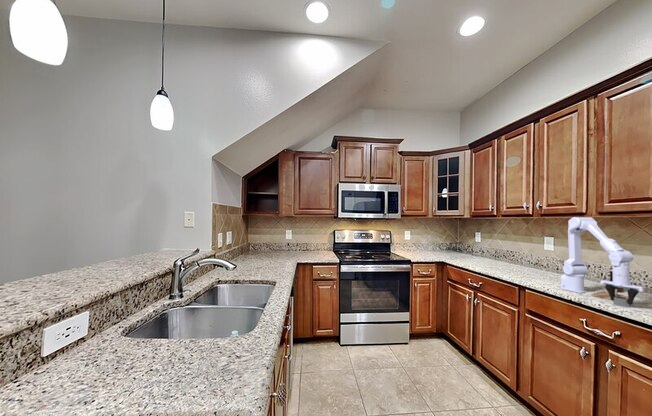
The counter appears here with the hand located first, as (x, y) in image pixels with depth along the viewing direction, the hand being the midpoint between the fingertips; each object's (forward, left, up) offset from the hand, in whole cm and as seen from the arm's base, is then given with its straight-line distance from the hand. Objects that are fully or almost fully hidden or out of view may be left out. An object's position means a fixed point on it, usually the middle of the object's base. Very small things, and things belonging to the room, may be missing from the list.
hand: (621, 302), depth 129 cm
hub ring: (0, 0, -1) cm, 1 cm away
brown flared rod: (-13, +31, -2) cm, 34 cm away
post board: (-8, +12, -1) cm, 14 cm away
